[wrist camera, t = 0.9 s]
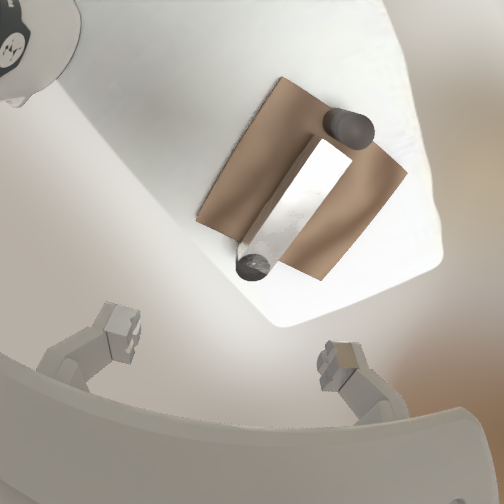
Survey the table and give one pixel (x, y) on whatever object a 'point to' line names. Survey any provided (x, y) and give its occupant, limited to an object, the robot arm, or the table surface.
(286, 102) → the label board
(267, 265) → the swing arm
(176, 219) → the table surface
